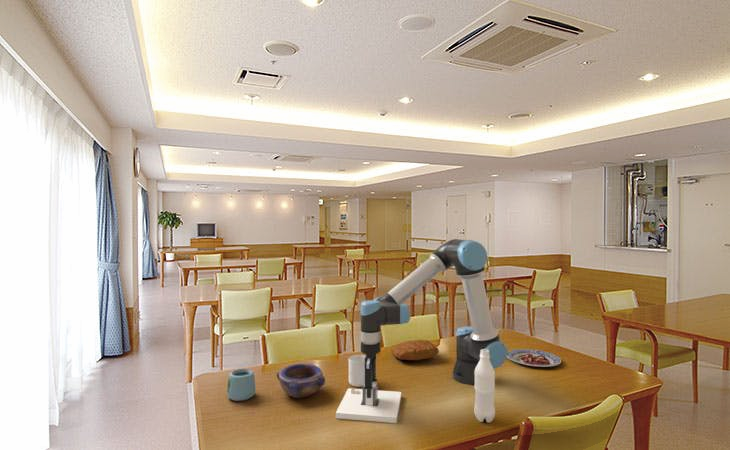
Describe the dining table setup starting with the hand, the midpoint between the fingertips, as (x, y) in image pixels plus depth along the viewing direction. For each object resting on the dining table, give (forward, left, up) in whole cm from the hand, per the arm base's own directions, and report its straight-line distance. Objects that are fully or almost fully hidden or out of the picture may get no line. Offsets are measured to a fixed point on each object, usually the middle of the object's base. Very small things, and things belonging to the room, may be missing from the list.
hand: (370, 401), depth 158 cm
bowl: (+30, -7, -2) cm, 31 cm away
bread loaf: (-14, -58, -2) cm, 60 cm away
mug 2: (+9, -23, -2) cm, 25 cm away
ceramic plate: (-74, -65, -2) cm, 99 cm away
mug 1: (+54, -2, -2) cm, 54 cm away
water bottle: (-42, +3, -2) cm, 42 cm away
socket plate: (0, 0, -2) cm, 2 cm away
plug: (0, 0, -2) cm, 2 cm away
